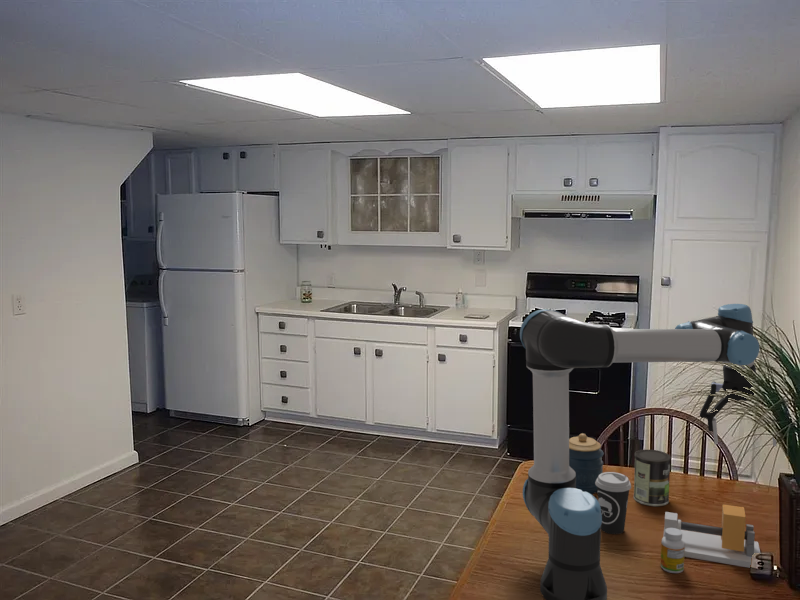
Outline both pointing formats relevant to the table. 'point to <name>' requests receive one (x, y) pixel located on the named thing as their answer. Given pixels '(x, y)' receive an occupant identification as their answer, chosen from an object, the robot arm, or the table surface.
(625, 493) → the coffee cup
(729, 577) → the table surface
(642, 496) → the coffee can
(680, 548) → the supplement bottle
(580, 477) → the canister
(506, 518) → the table surface
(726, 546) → the orange rectangular block
